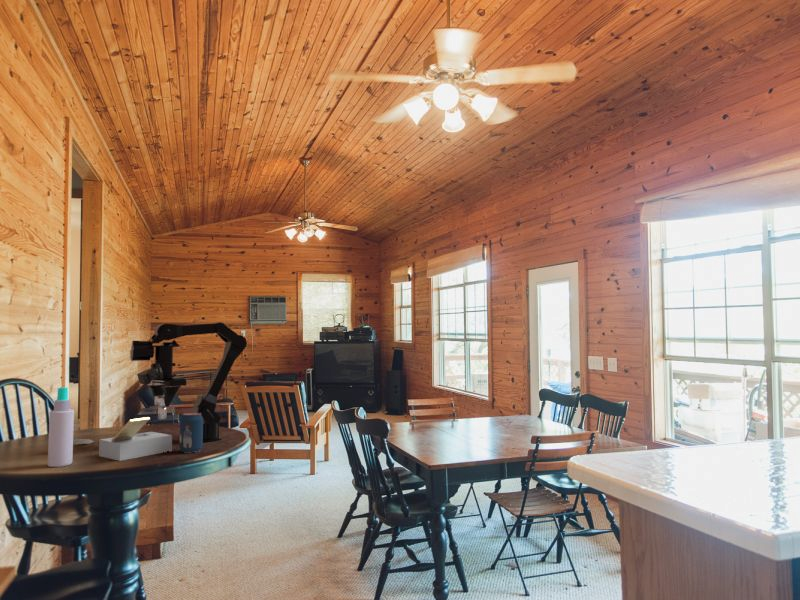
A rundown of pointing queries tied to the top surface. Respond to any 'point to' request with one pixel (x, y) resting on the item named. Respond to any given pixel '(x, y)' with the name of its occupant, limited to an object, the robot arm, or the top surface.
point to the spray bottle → (61, 431)
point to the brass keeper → (131, 428)
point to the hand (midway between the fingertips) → (162, 406)
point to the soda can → (191, 432)
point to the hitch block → (135, 446)
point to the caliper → (82, 441)
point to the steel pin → (161, 406)
